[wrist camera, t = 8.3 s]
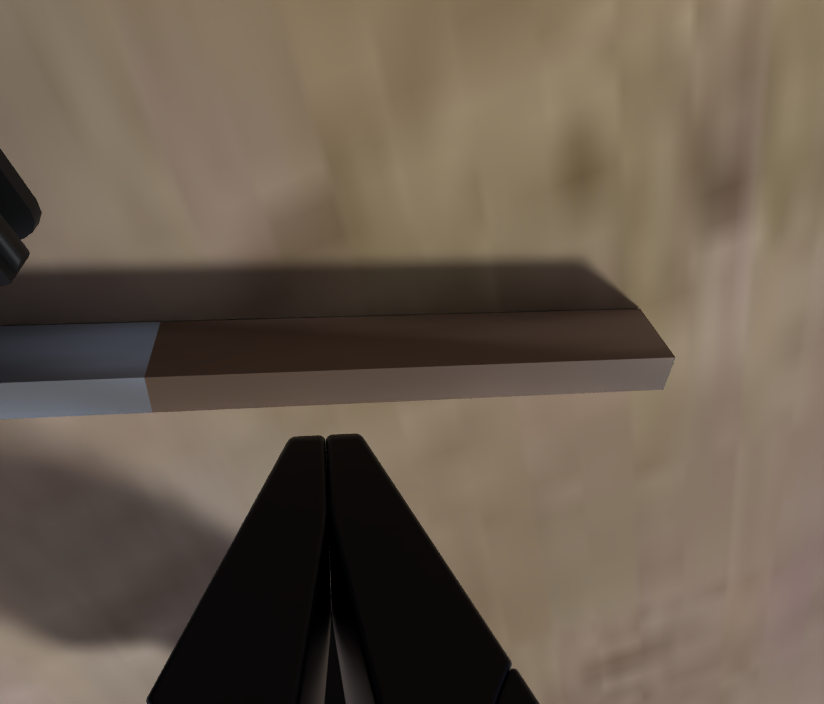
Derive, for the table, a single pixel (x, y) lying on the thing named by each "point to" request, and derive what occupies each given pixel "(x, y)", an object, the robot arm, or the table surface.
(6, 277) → the end cap
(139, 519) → the table surface
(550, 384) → the rail
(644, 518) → the table surface
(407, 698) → the robot arm
